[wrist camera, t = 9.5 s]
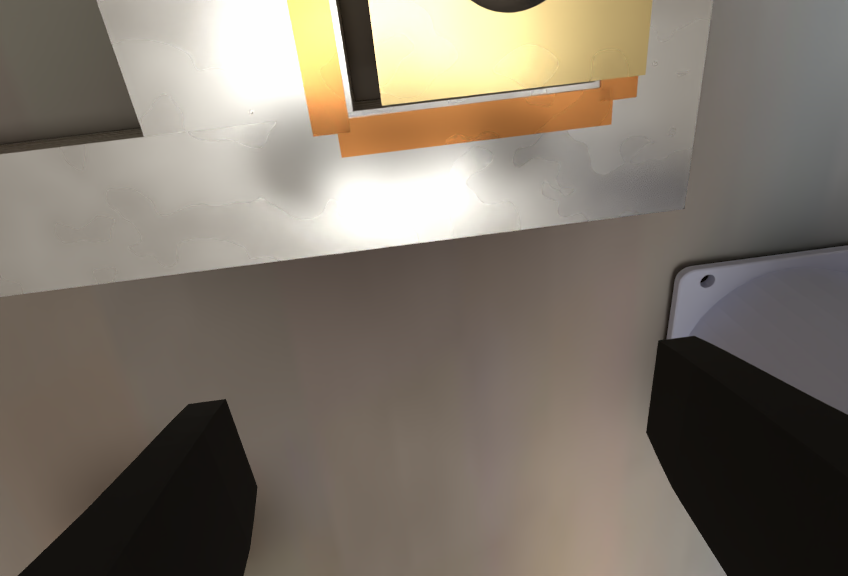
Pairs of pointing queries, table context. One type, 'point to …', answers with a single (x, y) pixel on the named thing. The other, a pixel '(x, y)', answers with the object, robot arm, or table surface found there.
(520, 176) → the panel
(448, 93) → the brass nut
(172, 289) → the table surface
